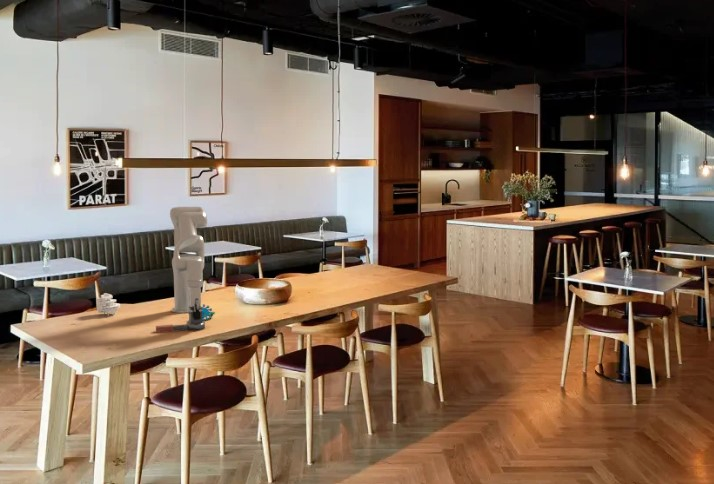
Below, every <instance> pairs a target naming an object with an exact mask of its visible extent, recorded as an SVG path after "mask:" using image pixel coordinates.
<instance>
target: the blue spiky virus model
mask: <svg viewBox="0 0 714 484" xmlns="http://www.w3.org/2000/svg"><path fill="white" fill-rule="evenodd" d="M201 307H202V321H204V319H205V321H209V319H212V318H213V316H214V315H215V314H216V311H213V309H212V307H211V308H210V306H209V305H206V304H202V306H201ZM205 321H204V322H205Z"/></svg>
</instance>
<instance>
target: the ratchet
mask: <svg viewBox="0 0 714 484" xmlns="http://www.w3.org/2000/svg"><path fill="white" fill-rule="evenodd" d="M205 329H206V322H205V321H202V323H201V324H190V322H189V321H187V322H186V324H175V325H174V324H164V325H155V332H156V333H158V334H159V333H160V334H161V333H169V332H180V331H181V332H182V331H190V332H191V331H193V332H198V331H199V332H200V331H203V330H205Z"/></svg>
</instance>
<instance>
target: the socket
mask: <svg viewBox="0 0 714 484" xmlns="http://www.w3.org/2000/svg"><path fill="white" fill-rule="evenodd" d="M202 307H203V306H200V317H201V319H199V320H194V307H190V306H189V312H188V322H190V324H201V323H202Z"/></svg>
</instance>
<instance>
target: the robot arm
mask: <svg viewBox="0 0 714 484" xmlns="http://www.w3.org/2000/svg"><path fill="white" fill-rule="evenodd" d="M169 217H170V221H171V223H172V226H173V230H174V237H173V238H174V250H173V257H172V259H171V265H172V271H173V291H174V292H173V293H174V299H173V300H174V307H172V308H171V312H172V313H176V314H177V313H178V314H181V313H182V314H185V313H189V306H190V307H194V320H199V319H201V317H200V306H201V305H202V289H201V288H202V287H203V286H204V285H203V284H204V283H203V279H204V278H203V270H204V268H205V240H204V237H203V236H202V235H199V234H198V230H197V229H203V228H206V227H207V225H208V218H207V217H208V216H207V214H206V211H205V210H204V209H203V207H201V206H176V207H171V209H170V211H169ZM180 253H181V254H180ZM191 253H192V254H191ZM193 253H194V254H193ZM201 307H202V306H201Z"/></svg>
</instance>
